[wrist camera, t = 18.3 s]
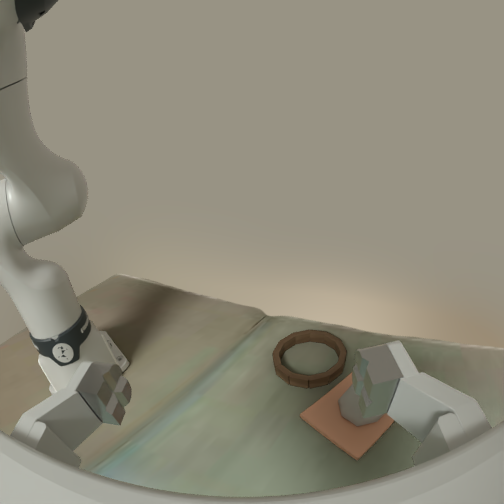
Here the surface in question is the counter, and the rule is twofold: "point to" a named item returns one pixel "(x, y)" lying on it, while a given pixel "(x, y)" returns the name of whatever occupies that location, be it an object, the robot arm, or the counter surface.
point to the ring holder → (310, 380)
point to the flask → (354, 409)
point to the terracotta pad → (344, 423)
